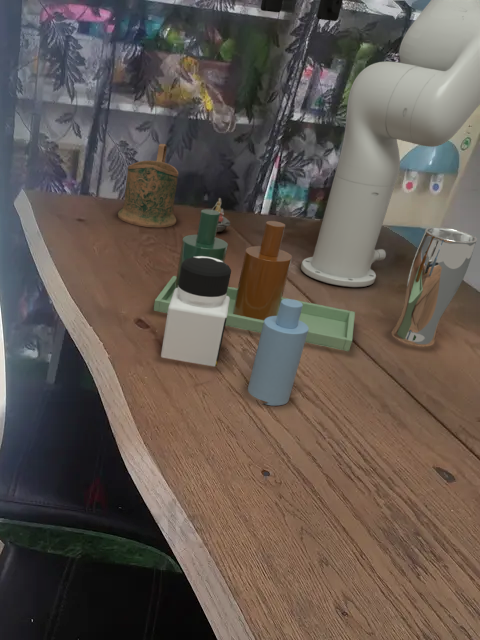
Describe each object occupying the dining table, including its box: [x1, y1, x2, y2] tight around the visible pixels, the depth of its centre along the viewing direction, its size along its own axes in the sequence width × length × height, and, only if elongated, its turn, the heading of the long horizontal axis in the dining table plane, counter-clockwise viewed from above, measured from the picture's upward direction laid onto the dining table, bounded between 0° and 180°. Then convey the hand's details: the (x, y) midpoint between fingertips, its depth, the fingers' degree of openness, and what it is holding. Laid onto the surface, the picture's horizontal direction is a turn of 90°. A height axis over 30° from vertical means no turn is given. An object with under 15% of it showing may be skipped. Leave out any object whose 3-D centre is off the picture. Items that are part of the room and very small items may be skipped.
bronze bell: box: [117, 143, 179, 228], centre depth 144 cm, size 12×18×12 cm, turn 167°
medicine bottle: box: [160, 256, 232, 367], centre depth 92 cm, size 7×7×12 cm
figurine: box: [211, 197, 231, 233], centre depth 140 cm, size 5×4×6 cm
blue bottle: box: [247, 298, 309, 407], centre depth 84 cm, size 5×5×12 cm
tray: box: [153, 275, 356, 352], centre depth 107 cm, size 28×12×2 cm, turn 72°
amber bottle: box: [233, 220, 293, 320], centre depth 103 cm, size 6×6×13 cm
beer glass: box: [391, 226, 478, 347], centre depth 102 cm, size 7×7×15 cm
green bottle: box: [175, 208, 229, 289], centre depth 105 cm, size 6×6×13 cm
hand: (297, 15), depth 92 cm, fingers open, 9 cm apart
